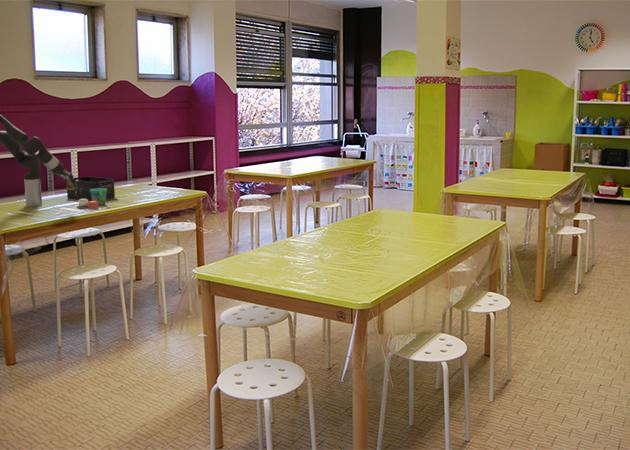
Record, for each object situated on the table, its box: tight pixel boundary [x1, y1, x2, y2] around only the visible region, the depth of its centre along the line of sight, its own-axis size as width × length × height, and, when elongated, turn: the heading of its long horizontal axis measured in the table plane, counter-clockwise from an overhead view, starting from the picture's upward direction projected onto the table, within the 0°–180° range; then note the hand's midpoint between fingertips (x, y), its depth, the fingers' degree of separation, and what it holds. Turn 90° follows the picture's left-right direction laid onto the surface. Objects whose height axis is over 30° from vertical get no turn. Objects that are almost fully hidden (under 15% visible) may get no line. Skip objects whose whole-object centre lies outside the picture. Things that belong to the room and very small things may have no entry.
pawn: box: [65, 171, 74, 191], centre depth 404 cm, size 5×5×10 cm
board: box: [58, 201, 99, 214], centre depth 413 cm, size 19×16×5 cm
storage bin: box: [65, 175, 116, 202], centre depth 457 cm, size 29×19×13 cm
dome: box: [77, 199, 89, 206], centre depth 416 cm, size 6×6×4 cm
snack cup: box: [90, 188, 107, 206], centre depth 430 cm, size 16×10×10 cm
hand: (72, 182), depth 406 cm, fingers closed on pawn, 3 cm apart
